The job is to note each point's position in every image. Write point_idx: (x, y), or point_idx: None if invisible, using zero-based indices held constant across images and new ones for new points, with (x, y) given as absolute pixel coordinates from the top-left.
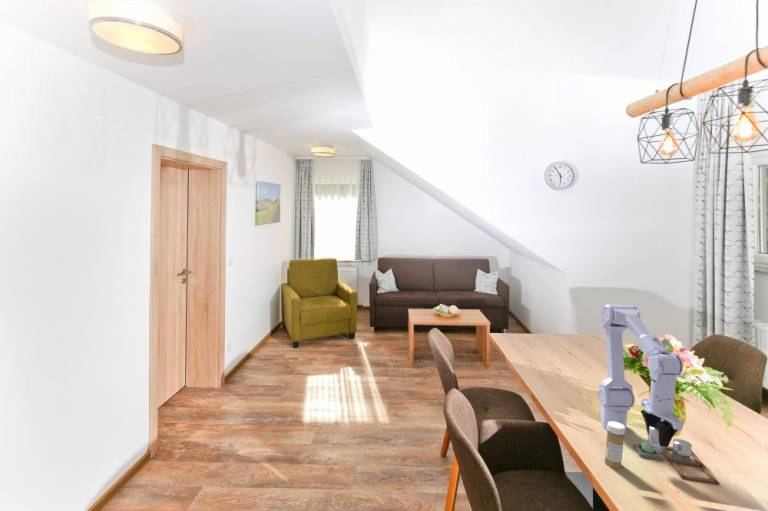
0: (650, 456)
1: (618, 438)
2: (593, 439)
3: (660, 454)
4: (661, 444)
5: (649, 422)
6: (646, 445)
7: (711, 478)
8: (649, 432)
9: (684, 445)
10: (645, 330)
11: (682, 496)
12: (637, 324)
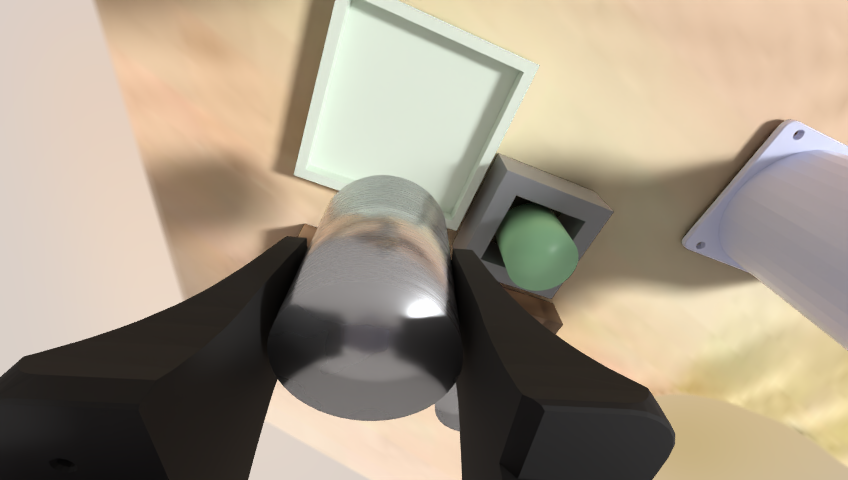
0: (479, 216)
1: None
2: (797, 11)
3: None
4: (277, 244)
5: (481, 346)
6: (526, 238)
7: None
8: (400, 247)
9: (452, 402)
10: None
11: (199, 157)
12: None
